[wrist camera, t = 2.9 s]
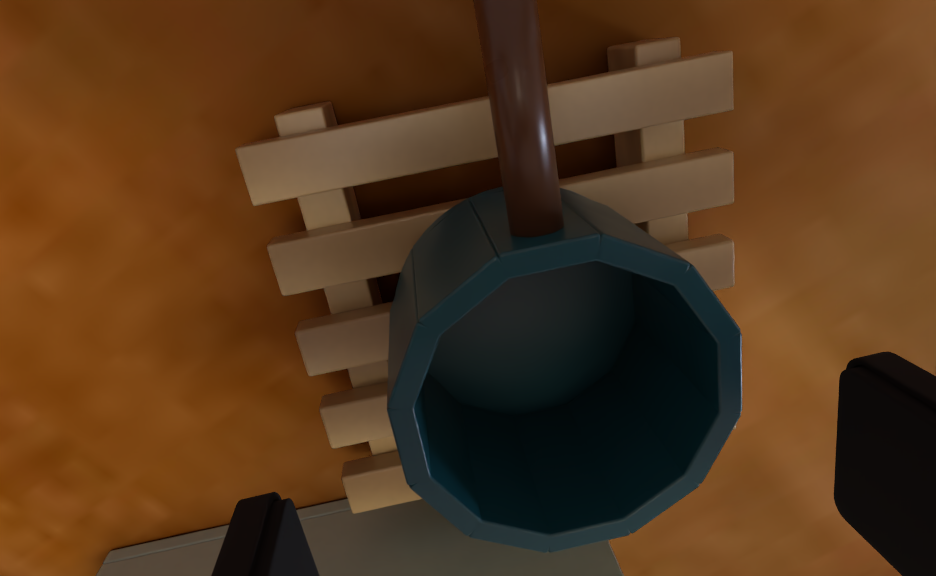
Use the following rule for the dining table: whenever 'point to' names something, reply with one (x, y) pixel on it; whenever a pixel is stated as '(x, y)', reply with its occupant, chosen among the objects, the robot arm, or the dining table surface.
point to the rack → (455, 143)
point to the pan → (551, 343)
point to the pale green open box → (373, 548)
